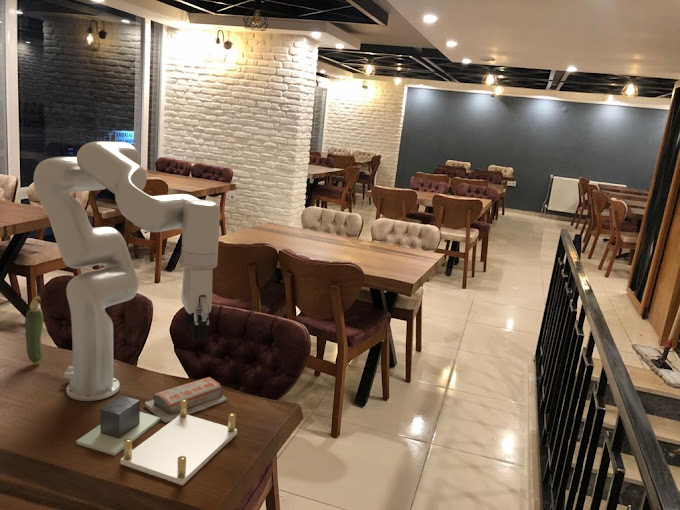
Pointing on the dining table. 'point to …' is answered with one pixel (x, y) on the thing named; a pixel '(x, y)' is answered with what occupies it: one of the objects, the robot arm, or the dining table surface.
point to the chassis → (179, 447)
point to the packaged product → (194, 392)
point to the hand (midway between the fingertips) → (196, 332)
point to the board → (114, 442)
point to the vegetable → (34, 331)
